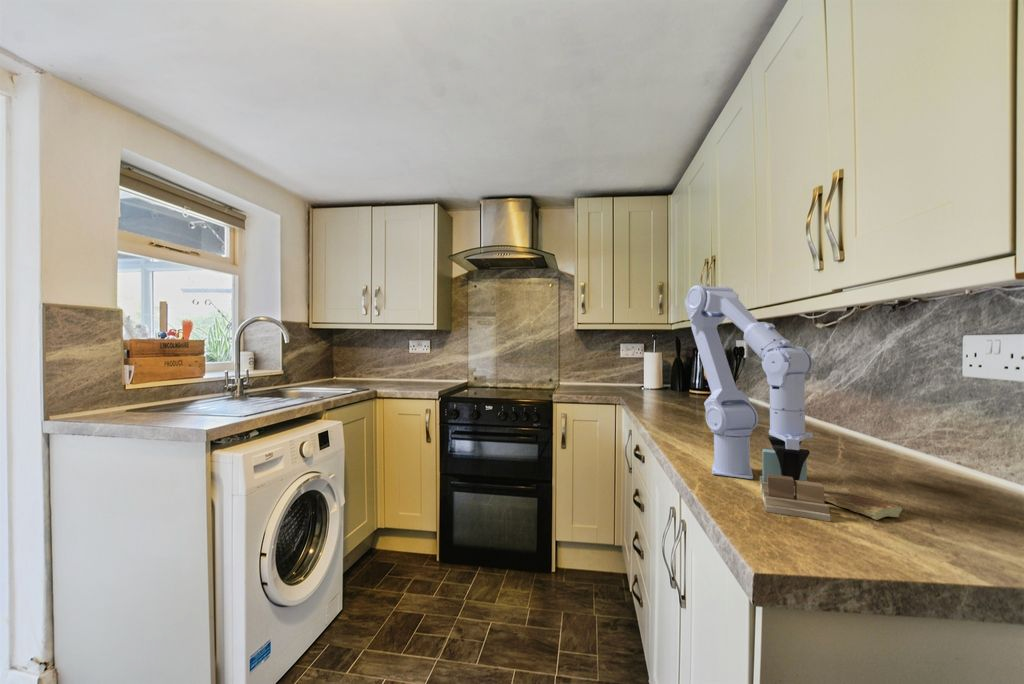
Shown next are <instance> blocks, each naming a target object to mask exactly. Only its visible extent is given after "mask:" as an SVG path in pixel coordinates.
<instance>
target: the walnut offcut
mask: <svg viewBox="0 0 1024 684" xmlns="http://www.w3.org/2000/svg"><path fill="white" fill-rule="evenodd" d="M767 496H770V497H777V498H784V499H791V500H794V480H793V478H792V477H788V476H779V475H771V474H767Z"/></svg>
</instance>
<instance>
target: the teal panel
mask: <svg viewBox="0 0 1024 684" xmlns="http://www.w3.org/2000/svg"><path fill="white" fill-rule="evenodd" d="M761 452H762V476H763V482H767V474H771V475H779V476H782V475H781V469H780V464H779V460H778V457H777V455H776V453H775V451H774V449H767V448H762V451H761ZM807 459H808V457H807V458H806V460H805V462H804V464H803V467H802V470H801V474H800V479H799V481H806V482H808V479H807V478H808V477H807V475H808V474H807V473H808V472H807V469H808V468H807V467H808V466H807V464H808V462H807Z"/></svg>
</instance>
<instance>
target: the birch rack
mask: <svg viewBox="0 0 1024 684" xmlns="http://www.w3.org/2000/svg"><path fill="white" fill-rule="evenodd" d="M759 489H760V491H761V495H762V500H763V504H764V508H765V512H767V513H773V514H778V515H784V516H785V515H786V516H791V517H797V518H805V519H812V520H819V521H823V522H829V523H831V515H830V506H829V504H826V501H825V499H824V504H820V503H813V502H805V501H798V500H795V486H794V500H791V499H784V498H777V497H770V496H767V482H763V475H759Z"/></svg>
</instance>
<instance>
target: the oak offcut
mask: <svg viewBox="0 0 1024 684" xmlns="http://www.w3.org/2000/svg"><path fill="white" fill-rule="evenodd" d="M824 492H825V487H824V485H823V484H822V483H821V482H814V481H807V482H806V481H798V480H795V500H798V501H805V502H813V503H820V504H824Z"/></svg>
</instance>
